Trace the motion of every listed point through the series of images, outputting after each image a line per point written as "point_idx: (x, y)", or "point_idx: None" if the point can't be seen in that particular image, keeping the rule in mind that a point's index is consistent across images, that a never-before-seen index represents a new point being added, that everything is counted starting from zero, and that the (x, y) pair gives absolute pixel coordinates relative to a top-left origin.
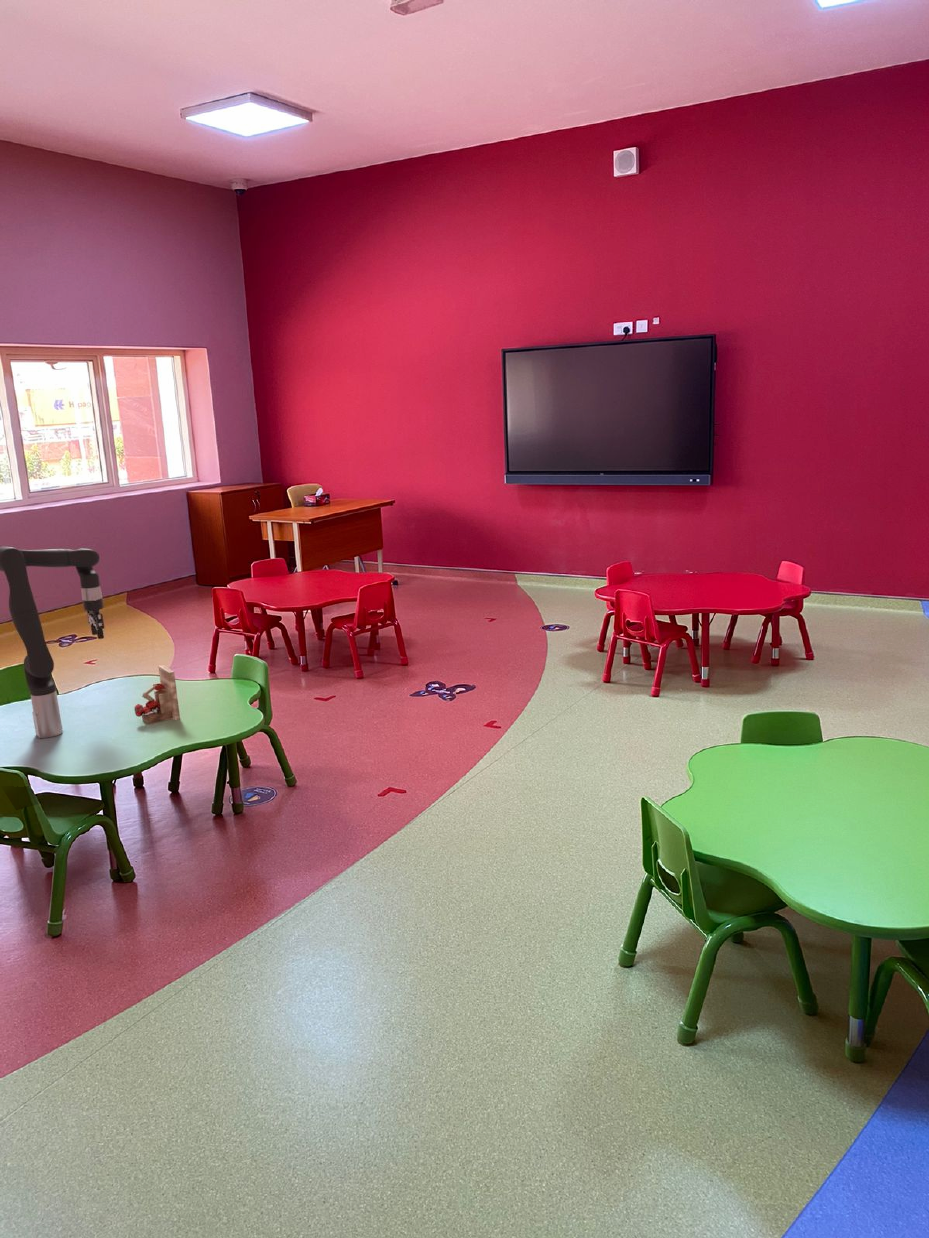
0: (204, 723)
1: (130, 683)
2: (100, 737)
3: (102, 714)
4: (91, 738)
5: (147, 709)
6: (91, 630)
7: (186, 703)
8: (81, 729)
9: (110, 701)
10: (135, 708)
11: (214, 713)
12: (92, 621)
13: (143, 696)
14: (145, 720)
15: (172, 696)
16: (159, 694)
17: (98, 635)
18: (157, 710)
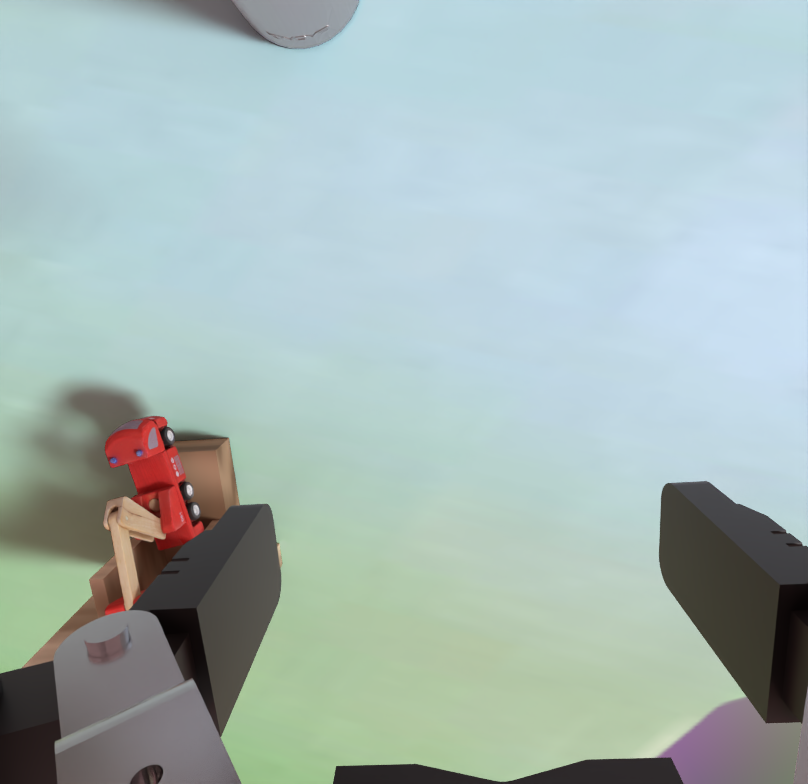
0: (29, 628)
1: None
2: (85, 212)
3: (443, 294)
4: (94, 169)
5: (135, 479)
6: (747, 519)
7: (339, 647)
8: (266, 149)
9: (636, 375)
10: (121, 428)
11: None
12: (633, 782)
13: (108, 502)
14: (177, 444)
15: (65, 624)
16: (93, 581)
17: (211, 546)
18: (207, 519)
